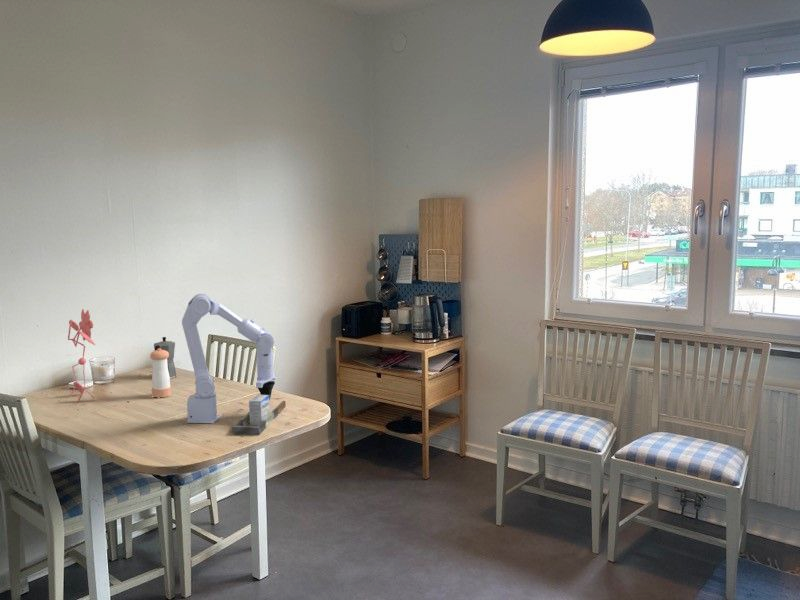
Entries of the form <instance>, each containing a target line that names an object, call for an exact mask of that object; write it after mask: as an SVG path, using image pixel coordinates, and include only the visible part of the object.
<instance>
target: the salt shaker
mask: <svg viewBox="0 0 800 600" xmlns="http://www.w3.org/2000/svg"><path fill="white" fill-rule="evenodd" d="M154 350H155V349H154ZM154 350H153V351H151V353H150V355H149V358H150V359H151V360H152V376H151V377H152V378H151V383H152V384H151V386H152V387H151V397H152V396H153V397H166V396H169V395H171V394H172V386H171V379H170V376H169V372H168V365H167V358H168V357H169V353H168V352H167V351H165V350H161V349H160V348H158V349H157V350H155V351H154ZM171 396H172V395H171ZM153 397H152V398H153ZM169 397H170V396H169ZM166 398H167V397H166Z"/></svg>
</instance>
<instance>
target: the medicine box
mask: <svg viewBox="0 0 800 600" xmlns="http://www.w3.org/2000/svg"><path fill="white" fill-rule="evenodd" d="M270 402H271V401H269V395H261V394H258V395H256V396H255V397H253V398H251V400H249V401H248V408H249V409H248V410H249V411H248V412H249V414H250V421H249V426H258V425H259V424H260V423H261V422H262V421H263V420H264V419H265V418H266V417H267V416H268V415H269V414H270V413H271V407H270V404H271V403H270Z"/></svg>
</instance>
